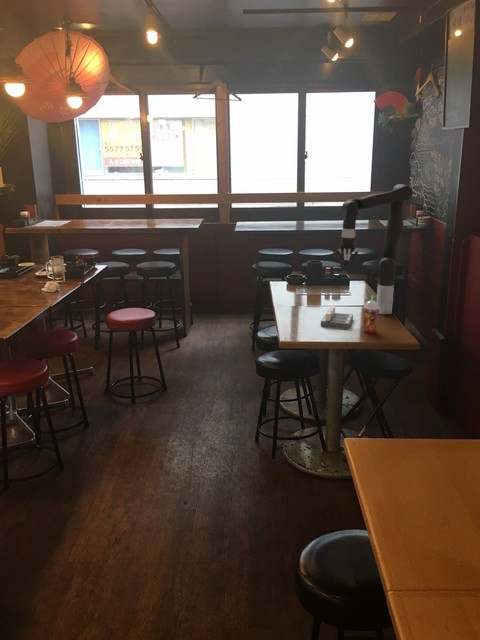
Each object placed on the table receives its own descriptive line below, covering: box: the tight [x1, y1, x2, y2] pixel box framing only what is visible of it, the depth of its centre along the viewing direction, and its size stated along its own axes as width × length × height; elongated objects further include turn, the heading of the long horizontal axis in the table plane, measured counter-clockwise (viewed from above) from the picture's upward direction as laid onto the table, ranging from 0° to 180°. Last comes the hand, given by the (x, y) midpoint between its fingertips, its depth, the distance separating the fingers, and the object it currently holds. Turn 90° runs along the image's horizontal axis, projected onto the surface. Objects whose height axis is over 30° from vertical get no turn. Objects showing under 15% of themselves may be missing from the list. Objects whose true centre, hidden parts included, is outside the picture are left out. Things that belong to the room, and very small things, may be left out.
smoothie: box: [362, 295, 380, 334], centre depth 295 cm, size 8×8×20 cm
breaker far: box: [329, 305, 336, 315], centre depth 320 cm, size 2×5×4 cm, turn 162°
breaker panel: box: [320, 312, 354, 330], centre depth 314 cm, size 15×20×3 cm
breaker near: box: [325, 310, 332, 321], centre depth 308 cm, size 2×5×4 cm, turn 162°
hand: (346, 266), depth 322 cm, fingers closed
